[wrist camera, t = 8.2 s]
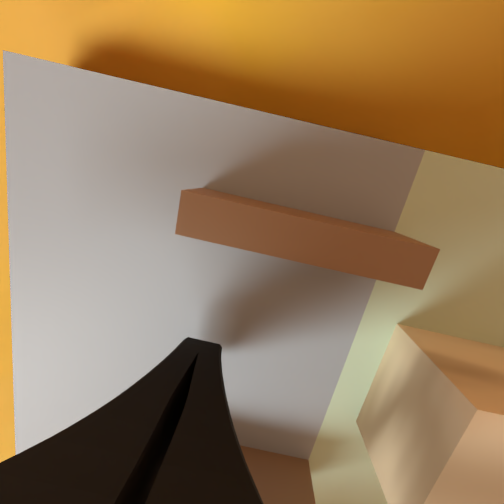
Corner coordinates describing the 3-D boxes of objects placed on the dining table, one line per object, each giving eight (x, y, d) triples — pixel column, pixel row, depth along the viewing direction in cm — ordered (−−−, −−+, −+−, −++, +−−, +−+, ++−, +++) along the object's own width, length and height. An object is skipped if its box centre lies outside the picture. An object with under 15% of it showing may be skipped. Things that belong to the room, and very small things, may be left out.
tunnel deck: (536, 519, 16) (653, 664, 11) (54, 416, 16) (-41, 523, 11) (747, 240, 11) (1108, 285, 6) (61, 79, 11) (-103, -4, 6)
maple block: (464, 444, 12) (563, 574, 8) (355, 421, 12) (402, 541, 8) (518, 350, 10) (669, 451, 6) (396, 323, 10) (477, 409, 6)
